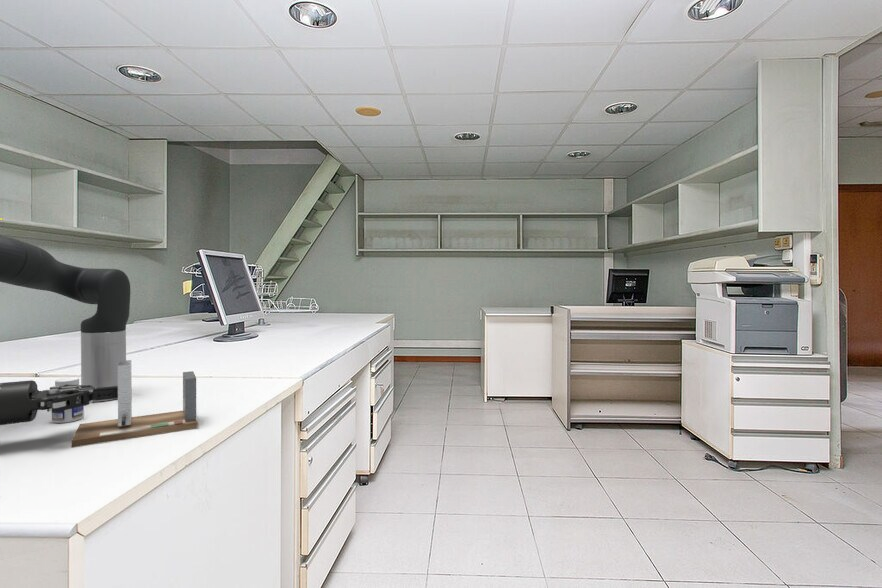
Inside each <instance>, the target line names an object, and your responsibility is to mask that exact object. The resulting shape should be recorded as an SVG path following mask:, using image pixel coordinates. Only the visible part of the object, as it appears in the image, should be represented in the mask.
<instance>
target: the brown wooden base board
mask: <svg viewBox="0 0 882 588" xmlns="http://www.w3.org/2000/svg"><path fill="white" fill-rule="evenodd" d="M194 429H198V422H197V420H196V421H190V422H185V419H184V414H183V410H177V411H168V412H161V413H155V414H145V415H137V416H132V418H131V425H126V426H118V418H116V419H107V420H99V421H93V422H85V423H79V425H78V427H77V429H76V431H75V433H74V435H73V437H72V439H71V448H74V447H82V446H88V445H89V446H90V445H95V444H96V445H97V444H102V443H109V442H114V441H115V442H116V441H120V440H121V441H122V440H128V439H129V440H130V439H134V438H142V437H148V436H154V435H161V434H167V433H168V434H169V433H174V432H181V431H187V430H194Z"/></svg>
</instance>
